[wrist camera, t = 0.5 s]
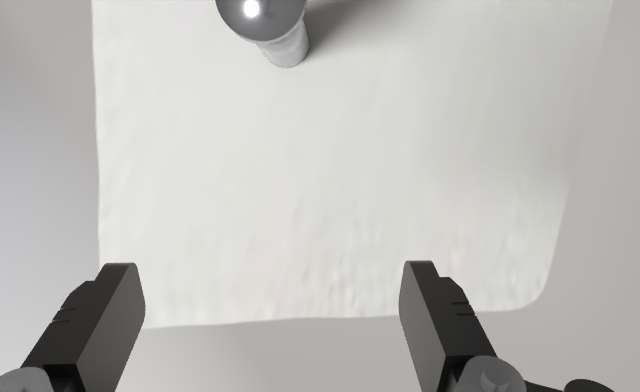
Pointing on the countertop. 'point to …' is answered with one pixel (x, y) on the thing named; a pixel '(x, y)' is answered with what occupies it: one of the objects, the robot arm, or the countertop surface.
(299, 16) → the pin
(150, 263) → the countertop surface
